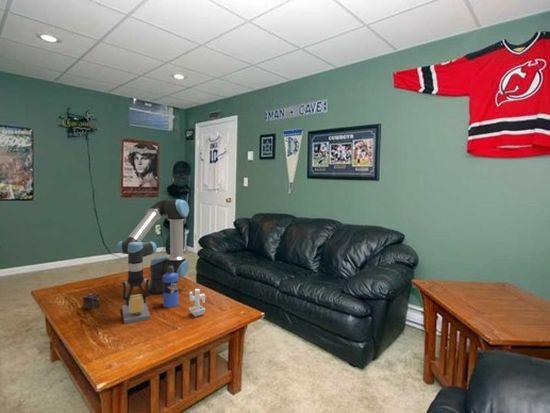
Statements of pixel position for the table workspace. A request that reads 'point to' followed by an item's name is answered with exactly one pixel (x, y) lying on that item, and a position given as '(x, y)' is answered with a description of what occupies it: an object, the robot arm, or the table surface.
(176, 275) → the water bottle
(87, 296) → the box
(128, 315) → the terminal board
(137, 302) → the tan rectangular block
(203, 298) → the figurine
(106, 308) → the table surface
